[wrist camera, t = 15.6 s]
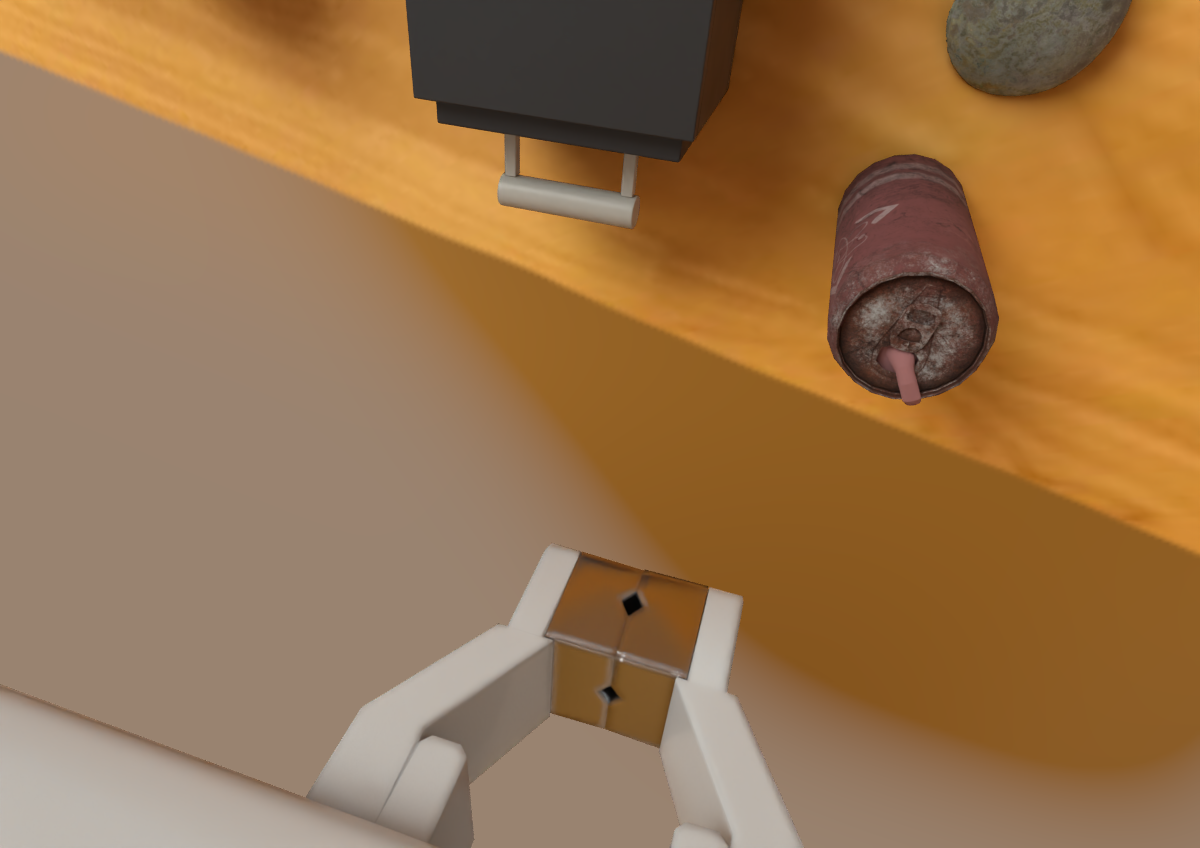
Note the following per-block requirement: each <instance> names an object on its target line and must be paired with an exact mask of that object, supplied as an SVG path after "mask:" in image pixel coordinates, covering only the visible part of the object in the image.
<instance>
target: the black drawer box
mask: <svg viewBox="0 0 1200 848" xmlns="http://www.w3.org/2000/svg"><path fill="white" fill-rule="evenodd" d="M742 2H743V0H406V9H407V21H408V33H409V45H410V56H411V68H412V80H413V92H414V98H418V99H424V100H431V101H437V102H443V103H449V104H456V105H462V106H468V107H475V108H481V109H487V110H493V111H500V112H506V113H512V114H519V115H525V116H531V117H537V118H544V119H550V120H556V121H562V122H569V123H575V124H581V125H588V126H594V127H600V128H606V129H613V130H619V131H625V132H632V133H638V134H644V135H650V136H657V137H663V138H669V139H676V140H682V141H688V142H693V141H694V140H695V138H696V137H697V135H698V134H699V132H700V131H701V129H702V128H703V126H704V125H705V123H706V122H707V120H708V119H709V117H710V116H711V114H712V113H713V111H714V110H715V108H716V107H717V105H718V104H719V102H720V101H721V99H722V98H723V96H724V95H725V93H726V92H727V90H728V87H729V81H730V75H731V69H732V63H733V57H734V51H735V45H736V39H737V32H738V26H739V20H740V14H741V8H742Z"/></svg>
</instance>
